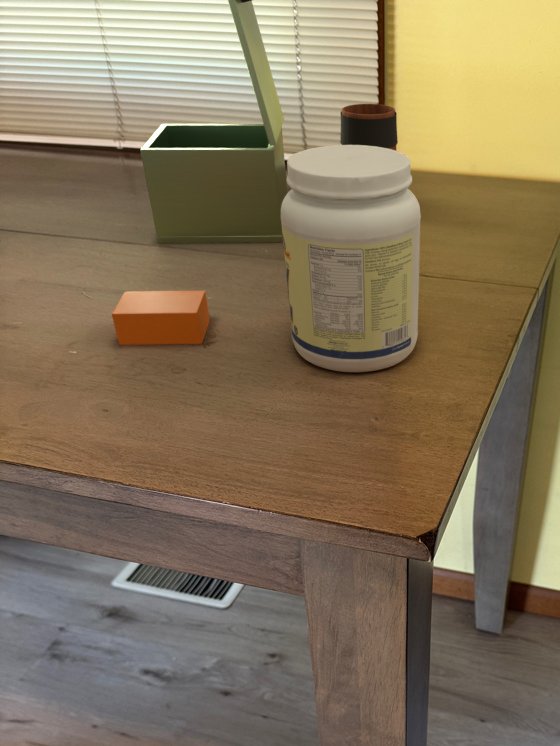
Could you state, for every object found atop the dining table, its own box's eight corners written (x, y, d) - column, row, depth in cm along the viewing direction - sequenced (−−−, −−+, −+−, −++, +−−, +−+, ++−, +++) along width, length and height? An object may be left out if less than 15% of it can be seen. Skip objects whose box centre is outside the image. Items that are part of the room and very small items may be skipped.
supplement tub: (313, 316, 79) (300, 138, 68) (427, 327, 77) (433, 145, 66) (275, 370, 70) (254, 173, 59) (404, 383, 68) (407, 184, 57)
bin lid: (220, -24, 78) (270, -37, 78) (235, -33, 89) (279, -44, 88) (269, 146, 89) (314, 135, 88) (278, 120, 99) (317, 111, 99)
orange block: (119, 345, 73) (111, 313, 71) (131, 321, 78) (124, 291, 75) (202, 344, 74) (196, 312, 72) (210, 320, 78) (205, 290, 76)
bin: (158, 243, 95) (139, 149, 88) (177, 210, 106) (161, 123, 99) (282, 242, 96) (273, 149, 89) (288, 209, 106) (281, 123, 100)
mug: (384, 183, 117) (384, 97, 110) (406, 205, 108) (407, 114, 101) (330, 186, 115) (326, 99, 108) (347, 210, 106) (344, 117, 99)
